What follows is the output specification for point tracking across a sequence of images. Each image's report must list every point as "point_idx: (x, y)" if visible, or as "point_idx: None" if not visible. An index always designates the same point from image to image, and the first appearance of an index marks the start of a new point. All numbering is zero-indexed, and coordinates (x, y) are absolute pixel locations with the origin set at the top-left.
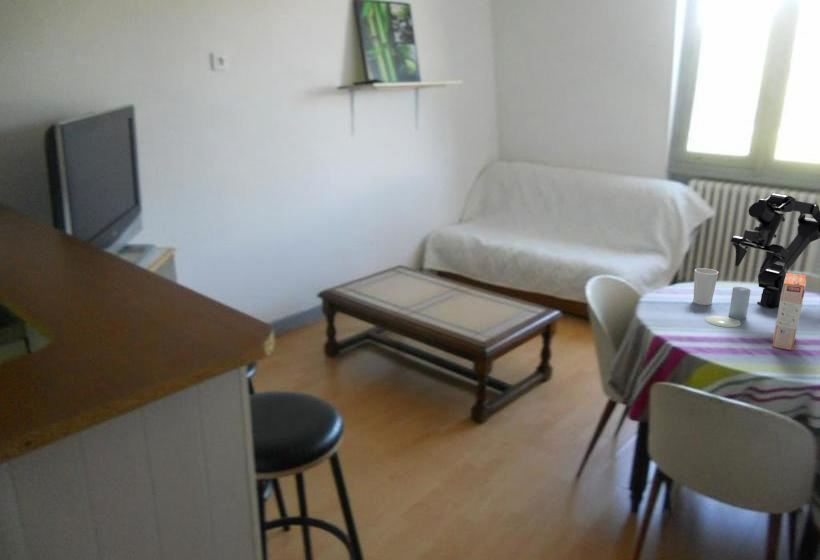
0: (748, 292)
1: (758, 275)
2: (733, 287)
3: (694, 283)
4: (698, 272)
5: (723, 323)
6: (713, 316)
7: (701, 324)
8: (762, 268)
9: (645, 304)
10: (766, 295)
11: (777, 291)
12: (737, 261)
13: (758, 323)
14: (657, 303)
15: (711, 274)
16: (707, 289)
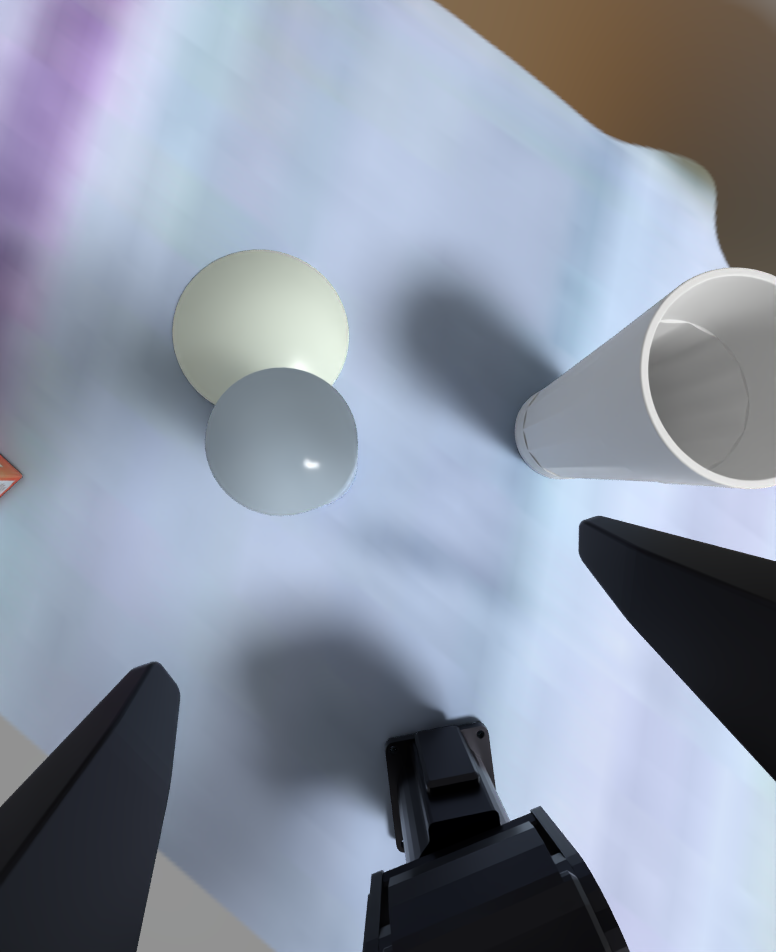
0: (211, 459)
1: (591, 878)
2: (347, 405)
3: (669, 352)
4: (717, 269)
5: (227, 312)
6: (336, 334)
7: (249, 202)
8: (69, 735)
9: (578, 128)
10: (434, 776)
11: (396, 869)
12: (641, 550)
13: (192, 501)
14: (582, 194)
15: (639, 353)
16: (562, 391)
